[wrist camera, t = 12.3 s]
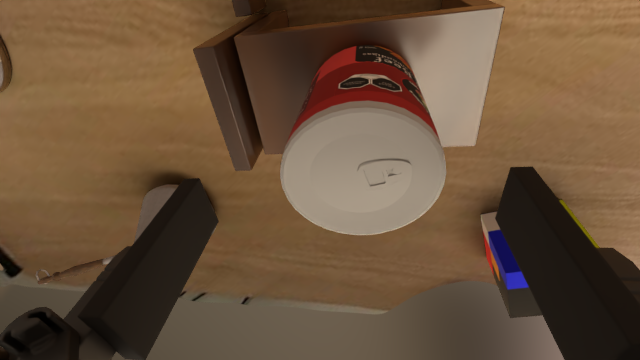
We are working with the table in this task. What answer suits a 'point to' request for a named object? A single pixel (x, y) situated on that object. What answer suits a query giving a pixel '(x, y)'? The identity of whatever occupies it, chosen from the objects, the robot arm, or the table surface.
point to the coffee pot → (148, 212)
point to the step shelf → (327, 40)
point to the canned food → (363, 146)
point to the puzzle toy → (512, 268)
